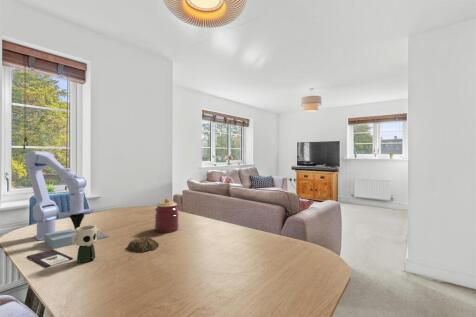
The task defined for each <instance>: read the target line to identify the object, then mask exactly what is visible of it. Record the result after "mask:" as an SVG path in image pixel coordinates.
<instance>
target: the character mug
mask: <svg viewBox="0 0 476 317" xmlns="http://www.w3.org/2000/svg"><path fill="white" fill-rule="evenodd" d="M75 231H76V235H73V236H72V244H73V245H76V246H78V249H77V257H76V261H78V262H79V263H84V262H91V259H92V260H95V259H96V252H95V245H94V244H95V243H96V242H97V237H98V236H99V232H100V228H97V225H91V224H90V225H89V224H88V225H80V227H78V228H76V230H75ZM75 237H76V241H75ZM75 243H76V244H75Z"/></svg>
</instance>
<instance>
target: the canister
mask: <svg viewBox="0 0 476 317" xmlns="http://www.w3.org/2000/svg"><path fill="white" fill-rule="evenodd" d="M179 209H180V208H179V207H178V203H176V202H175V201H173V200H170V198H168V197H166V198H165V199H164V201H160V202H158V203H157V204H156V207H155V208H154V211H155V214H154V217H155V218H154V222H155V223H154V231H156V232H157V233H172V232H175V231H178V230H179V226H180V225H179Z"/></svg>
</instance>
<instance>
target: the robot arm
mask: <svg viewBox="0 0 476 317" xmlns="http://www.w3.org/2000/svg"><path fill="white" fill-rule="evenodd" d="M23 158H24V160H25V165H26V168H27V174H28V176H29V180H30V183H31V187H32V191H33V194H34V197H35V201H36V203H35V204H34V205H33V206H32V218H33V219H34V220H35V222H36V235H34V236H33V237H34V238H35V240H37V241H43V240H44V234H46V233H51V232H56V219H57V216H58V218H60V219H61V218H64V217H69V219H70V220H71V222H72V224H73V226H74V228H73V229H74V231H76V228H78V227H81V223H82V221H83V220H84V218H85V214H93V213H94V211H95V210H94V208H91V207H90V208H85V207H84V205H85V204H84V202H85V201H84V199H85V197H84V195H85V194H84V192H85V191H84V190H85V188H86V186H87V179H86V178H84V177H82V176H79V175H78V174H77V173H75V172H74V171H72V169H71V168H68V167H65V166H63V165H62V164H61V163H60V162H59V161H58V160H57V159H56V158H55V155H54V154H53V153H52V152H51V151H49V150H40V151H39V150H29V151H27V153H26V154H25V156H24V157H23ZM47 166H48V167H50V168H51V169H52V170H54V172H56V173H57V176H58V177H59V179H61V180H62V181H63V182H64V183H66V188H67V189H68V193H69V211H64V212H60V209H59V206H58V205H57V203H56V201H54V200H52V199H51V198H50V195H49V191H48V187H47V184H46V180H45V178H44V174H43V169H44V168H46V167H47Z"/></svg>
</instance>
